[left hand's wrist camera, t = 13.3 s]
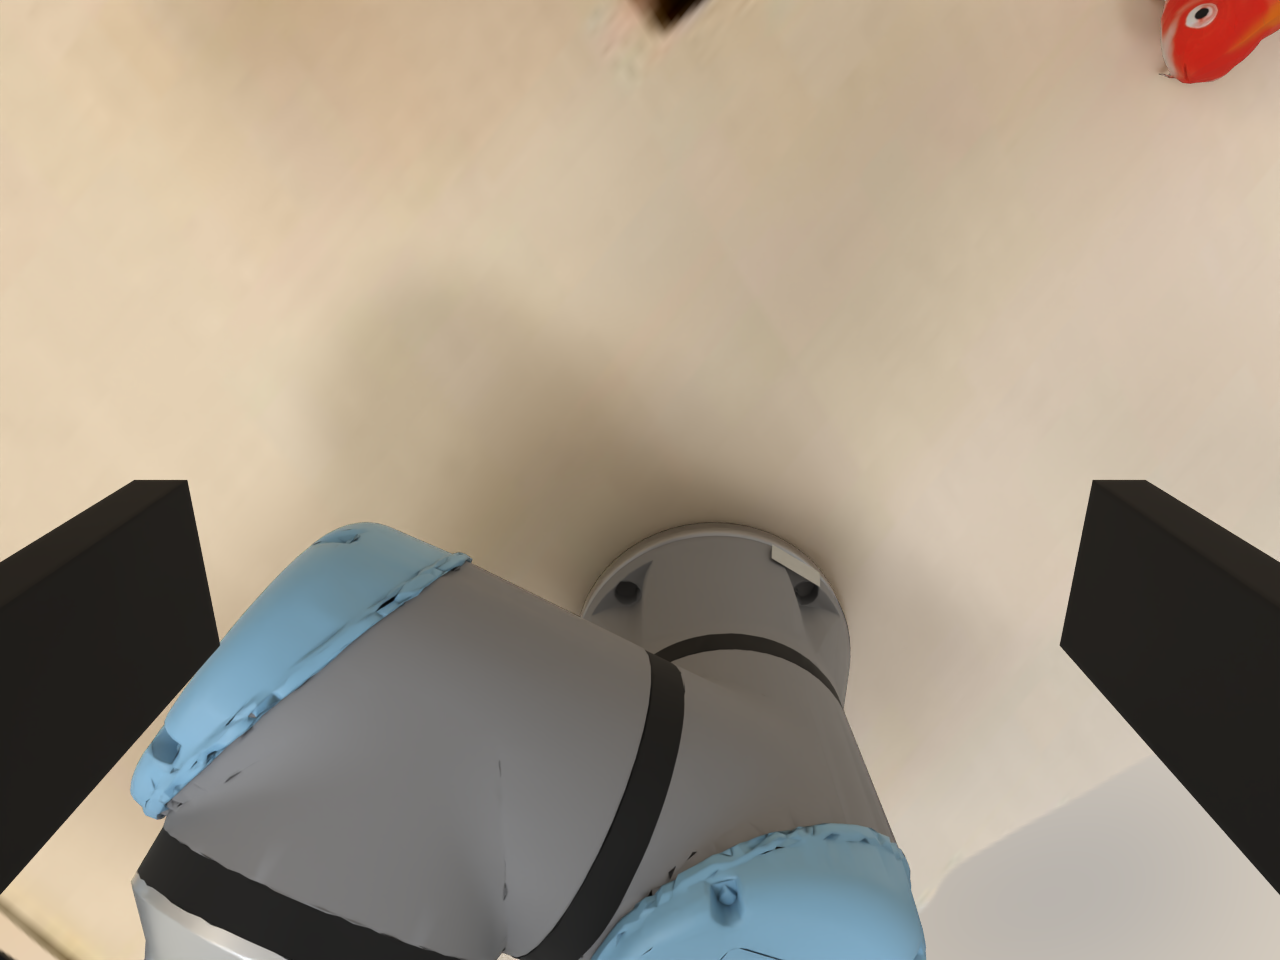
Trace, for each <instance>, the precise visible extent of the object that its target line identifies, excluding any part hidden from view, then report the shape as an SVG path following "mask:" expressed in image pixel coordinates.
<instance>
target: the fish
mask: <svg viewBox="0 0 1280 960" xmlns="http://www.w3.org/2000/svg"><path fill="white" fill-rule="evenodd" d="M1164 1H1165V5H1164V9H1163V14H1162V17H1161V30H1160V37H1161V49H1162V56H1163V58H1164V61H1165V64H1166V66H1167V68H1168V70H1169V72H1170V74H1169V75H1166V74H1160V75H1163V76H1166V77H1169V78H1176V79H1178V80H1179V81H1181V82H1182V83H1190V84H1191V83H1197V82H1211V81H1215V80H1217V79H1219V78H1221V77H1223V76H1224V75H1226V74H1227V73H1228V72H1229V71H1230V70H1231V69H1232V68H1233V67H1234V66H1236V65H1237V64H1238V63H1240V62H1241V61H1243V60H1244V59H1245V58H1246V57H1247V56H1248V55H1249V54H1250V53H1251V52H1252V51H1253V50H1254V49H1255V47H1256V46H1257V45H1258V44H1259V42H1260V41H1261V40H1262V39H1264V38H1265V37H1267V36H1269V35H1271V34H1272V33H1274V32H1276V31H1277V30H1279V29H1280V0H1164Z"/></svg>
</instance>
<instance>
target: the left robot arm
mask: <svg viewBox="0 0 1280 960" xmlns="http://www.w3.org/2000/svg"><path fill="white" fill-rule="evenodd" d="M471 562H472V558H470V557H469V556H468V555H466V554H464V553H460V552H458V553H454V554H451V553H449V552H447V551H444V550H442V549H440V548H437V547H435V546H433V545H430V544H428V543H426V542H423V541H421V540H419V539H416V538H414V537H412V536H409V535H407V534H405V533H402V532H400V531H398V530H395V529H393V528H391V527H388V526H386V525H382V524H378V523H371V522H363V523H355V524H350V525H346V526H343V527H340V528H338V529H336V530H334V531H332V532H330V533H328V534H326V535H325V536H323V537H322V538H320V539H319V540H318V541H316V542H315V543H313V544H312V545H311V546H310V547H309V548H308V549H306V550H305V551H304V552H303V553H302V554H300V555H299V556H298V557H297V558H296V559H295V560H294V561H293V562H292V563H291V564H289V565H288V566H287V567H286V568H285V569H284V570H283V571H282V572H281V573H280V574H279V575H278V576H277V577H276V578H275V579H274V580H273V582H272V583H271V584H270V585H269V586H268V587H267V588H266V589H265V590H264V591H263V592H262V594H261V595H260V596H259V597H258V598H257V599H256V600H255V601H254V602H253V604H252V605H251V606H250V607H249V608H248V609H247V610H246V611H245V613H244V614H243V615H242V616H241V617H240V619H239V620H238V621H237V622H236V623H235V624H234V626H233V627H232V628H231V629H230V630H229V632H228V633H227V634H226V635H225V637H224V638H223V639H222V640H221V642H219V637H218V632H217V627H216V622H215V617H214V612H213V607H212V602H211V597H210V592H209V587H208V582H207V577H206V572H205V567H204V562H203V557H202V552H201V547H200V542H199V537H198V531H197V526H196V521H195V516H194V511H193V506H192V501H191V496H190V491H189V486H188V481H187V480H134V481H132V482H130V483H129V484H127V485H126V486H124V487H122V488H121V489H119V490H117V491H116V492H114V493H113V494H111V495H109V496H108V497H106V498H104V499H103V500H101V501H99V502H98V503H96V504H95V505H93V506H91V507H90V508H88V509H86V510H85V511H83V512H82V513H80V514H78V515H77V516H75V517H73V518H72V519H70V520H68V521H67V522H65V523H64V524H62V525H60V526H59V527H57V528H55V529H54V530H52V531H51V532H49V533H47V534H46V535H44V536H42V537H41V538H39V539H38V540H36V541H34V542H33V543H31V544H29V545H28V546H26V547H24V548H23V549H21V550H20V551H18V552H16V553H15V554H13V555H11V556H10V557H8V558H7V559H5V560H3V561H2V562H0V894H1V893H2V892H3V891H4V890H5V889H6V888H7V887H8V885H9V884H10V883H11V882H12V881H13V880H14V879H15V877H16V876H17V875H18V874H19V873H20V872H21V871H22V870H23V868H24V867H25V866H26V865H27V864H28V863H29V862H30V860H31V859H32V858H33V857H34V856H35V855H36V854H37V853H38V851H39V850H40V849H41V848H42V847H43V846H44V845H45V843H46V842H47V841H48V840H49V839H50V838H51V837H52V836H53V834H54V833H55V832H56V831H57V830H58V829H59V828H60V826H61V825H62V824H63V823H64V822H65V821H66V820H67V819H68V817H69V816H70V815H71V814H72V813H73V812H74V811H75V809H76V808H77V807H78V806H79V805H80V804H81V803H82V802H83V800H84V799H85V798H86V797H87V796H88V795H89V794H90V792H91V791H92V790H93V789H94V788H95V787H96V786H97V785H98V783H99V782H100V781H101V780H102V779H103V778H104V777H105V775H106V774H107V773H108V772H109V771H110V770H111V769H112V768H113V766H114V765H115V764H116V763H117V762H118V761H119V760H120V758H121V757H122V756H123V755H124V754H125V753H126V752H127V751H128V749H129V748H130V747H131V746H132V745H133V744H134V743H135V741H136V740H137V739H138V738H139V737H140V736H141V735H142V734H143V732H144V731H145V730H146V729H147V728H148V727H149V726H150V724H151V723H152V722H153V721H154V720H155V719H156V718H157V717H158V715H159V714H160V713H161V712H162V711H163V710H164V709H165V707H166V706H167V705H168V704H169V703H170V702H171V701H172V700H173V698H174V697H175V696H176V695H177V694H178V693H179V692H180V691H181V689H182V688H183V687H184V686H185V685H186V684H187V683H188V681H189V680H190V679H191V678H192V677H193V676H194V677H193V678H192V679H191V681H190V682H189V683H188V685H187V686H186V687H185V689H184V690H183V692H182V693H181V695H180V696H179V698H178V699H177V701H176V702H175V703H174V705H173V706H172V708H171V709H170V711H169V713H168V714H167V717H166V719H165V722H164V723H165V724H164V725H163V727H162V728H161V729H160V731H159V732H158V734H157V735H156V737H155V738H154V740H153V741H152V742H151V744H150V745H149V746H148V748H147V749H146V750H145V752H144V753H143V755H142V756H141V758H140V760H139V762H138V764H137V766H136V769H135V771H134V774H133V777H132V780H131V789H130V791H131V795H132V797H133V798H134V800H135V801H136V802H137V803H138V804H140V805H141V806H142V807H143V811H144V813H145V815H146V816H149V817H152V818H154V819H162V818H164V817H165V816H167V817H166V820H165V823H164V826H163V828H162V830H161V831H160V833H159V835H158V836H157V838H156V840H155V841H154V843H153V845H152V846H151V848H150V850H149V852H148V853H147V855H146V857H145V858H144V860H143V862H142V863H141V865H140V867H139V868H138V870H137V872H136V874H135V875H134V877H133V879H132V881H131V883H132V889H133V893H134V896H135V900H136V904H137V908H138V912H139V916H140V920H141V924H142V928H143V932H144V935H145V939H146V944H145V959H144V960H497V959H498V957H499V956H500V955H501V953H505V954H508V955H511V956H512V957H514V958H517V959H520V960H926V952H925V950H926V945H925V939H924V934H923V929H922V925H921V922H920V919H919V915H918V912H917V909H916V905H915V902H914V899H913V895H912V892H911V882H910V868H909V865H908V862H907V860H906V858H905V855H904V854H903V852H902V850H901V849H899V848H898V845H897V843H896V840H895V838H894V835H893V833H892V830H891V828H890V825H889V823H888V820H887V818H886V815H885V813H884V810H883V808H882V805H881V803H880V800H879V798H878V795H877V793H876V790H875V788H874V785H873V783H872V780H871V778H870V775H869V773H868V770H867V768H866V765H865V763H864V760H863V758H862V755H861V753H860V750H859V748H858V745H857V743H856V740H855V738H854V735H853V733H852V730H851V728H850V725H849V723H848V720H847V718H846V715H845V712H844V710H843V709H844V702H845V696H846V689H847V682H848V675H849V668H850V637H849V632H848V626H847V623H846V619H845V616H844V613H843V611H842V609H841V606H840V604H839V602H838V600H837V598H836V595H835V593H834V591H833V589H832V587H831V585H830V584H829V582H828V580H827V579H826V577H825V576H824V575H823V573H822V572H821V571H820V569H819V568H818V567H817V566H816V565H815V564H814V563H813V562H812V561H811V560H810V559H809V558H808V557H807V556H806V555H805V554H804V553H802V552H801V551H800V550H798V549H797V548H796V547H794V546H793V545H791V544H790V543H788V542H786V541H784V540H783V539H781V538H779V537H777V536H774V535H772V534H770V533H768V532H765V531H762V530H759V529H756V528H752V527H748V526H743V525H737V524H730V523H698V524H691V525H685V526H680V527H676V528H672V529H669V530H666V531H663V532H660V533H658V534H655V535H653V536H651V537H648V538H646V539H645V540H643V541H641V542H639V543H637V544H635V545H634V546H632V547H631V548H630V549H628V550H627V551H625V552H624V553H623V554H621V555H620V556H619V557H618V558H617V559H615V560H614V561H613V562H612V563H611V564H610V565H609V566H608V567H607V568H606V569H605V571H604V572H603V573H602V574H601V576H600V577H599V578H598V579H597V581H596V582H595V584H594V586H593V587H592V589H591V590H590V592H589V594H588V596H587V598H586V600H585V603H584V606H583V608H582V611H581V615H580V617H579V616H577V615H575V614H573V613H571V612H569V611H567V610H565V609H563V608H561V607H559V606H557V605H555V604H553V603H551V602H549V601H547V600H545V599H543V598H541V597H539V596H537V595H535V594H533V593H531V592H529V591H527V590H524V589H522V588H520V587H518V586H516V585H514V584H512V583H510V582H508V581H506V580H504V579H502V578H500V577H498V576H496V575H494V574H492V573H490V572H488V571H486V570H484V569H482V568H480V567H478V566H476V565H474V564H472V563H471ZM1060 646H1061V647H1062V649H1063V650H1064V651H1065V652H1066V653H1067V654H1068V655H1069V657H1070V658H1071V659H1072V660H1073V661H1074V662H1075V663H1076V664H1077V666H1078V667H1079V668H1080V669H1081V670H1082V671H1083V672H1084V674H1085V675H1086V676H1087V677H1088V678H1089V679H1090V680H1091V681H1092V683H1093V684H1094V685H1095V686H1096V687H1097V688H1098V689H1099V691H1100V692H1101V693H1102V694H1103V695H1104V696H1105V697H1106V698H1107V700H1108V701H1109V702H1110V703H1111V704H1112V705H1113V706H1114V707H1115V709H1116V710H1117V711H1118V712H1119V713H1120V714H1121V715H1122V717H1123V718H1124V719H1125V720H1126V721H1127V722H1128V723H1129V724H1130V726H1131V727H1132V728H1133V729H1134V730H1135V731H1136V732H1137V734H1138V735H1139V736H1140V737H1141V738H1142V739H1143V740H1144V741H1145V743H1146V744H1147V745H1148V746H1149V747H1150V748H1151V749H1152V751H1153V752H1154V753H1155V754H1156V755H1157V756H1158V757H1159V758H1160V760H1161V761H1162V762H1163V763H1164V764H1165V765H1166V766H1167V768H1168V769H1169V770H1170V771H1171V772H1172V773H1173V774H1174V775H1175V777H1176V778H1177V779H1178V780H1179V781H1180V782H1181V783H1182V785H1183V786H1184V787H1185V788H1186V789H1187V790H1188V791H1189V792H1190V794H1191V795H1192V796H1193V797H1194V798H1195V799H1196V800H1197V802H1198V803H1199V804H1200V805H1201V806H1202V807H1203V808H1204V809H1205V811H1206V812H1207V813H1208V814H1209V815H1210V816H1211V817H1212V819H1213V820H1214V821H1215V822H1216V823H1217V824H1218V825H1219V826H1220V828H1221V829H1222V830H1223V831H1224V832H1225V833H1226V834H1227V836H1228V837H1229V838H1230V839H1231V840H1232V841H1233V842H1234V843H1235V845H1236V846H1237V847H1238V848H1239V849H1240V850H1241V851H1242V853H1243V854H1244V855H1245V856H1246V857H1247V858H1248V859H1249V860H1250V862H1251V863H1252V864H1253V865H1254V866H1255V867H1256V868H1257V869H1258V871H1259V872H1260V873H1261V874H1262V875H1263V876H1264V877H1265V879H1266V880H1267V881H1268V882H1269V883H1270V884H1271V885H1272V886H1273V888H1274V889H1275V890H1276V891H1277V892H1278V893H1279V894H1280V562H1278V561H1277V560H1275V559H1273V558H1272V557H1270V556H1269V555H1267V554H1265V553H1264V552H1262V551H1260V550H1259V549H1257V548H1256V547H1254V546H1252V545H1251V544H1249V543H1247V542H1246V541H1244V540H1242V539H1241V538H1239V537H1238V536H1236V535H1234V534H1233V533H1231V532H1229V531H1228V530H1226V529H1225V528H1223V527H1221V526H1220V525H1218V524H1216V523H1215V522H1213V521H1212V520H1210V519H1208V518H1207V517H1205V516H1203V515H1202V514H1200V513H1198V512H1197V511H1195V510H1194V509H1192V508H1190V507H1189V506H1187V505H1185V504H1184V503H1182V502H1181V501H1179V500H1177V499H1176V498H1174V497H1172V496H1171V495H1169V494H1167V493H1166V492H1164V491H1163V490H1161V489H1159V488H1158V487H1156V486H1154V485H1153V484H1151V483H1150V482H1148V481H1146V480H1093V481H1092V486H1091V491H1090V496H1089V501H1088V506H1087V511H1086V516H1085V521H1084V526H1083V531H1082V537H1081V542H1080V547H1079V552H1078V557H1077V562H1076V567H1075V572H1074V577H1073V582H1072V587H1071V592H1070V597H1069V602H1068V607H1067V612H1066V617H1065V622H1064V627H1063V632H1062V637H1061V642H1060ZM196 672H197V673H196Z"/></svg>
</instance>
